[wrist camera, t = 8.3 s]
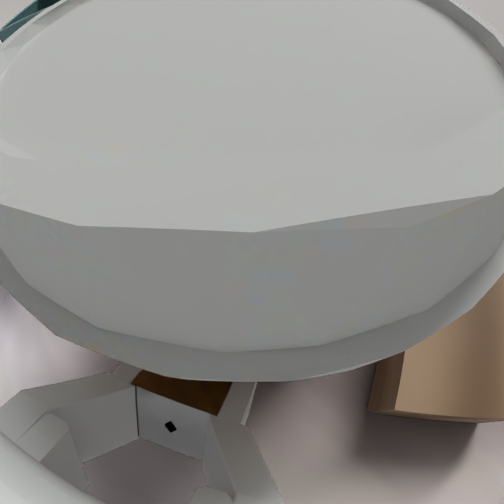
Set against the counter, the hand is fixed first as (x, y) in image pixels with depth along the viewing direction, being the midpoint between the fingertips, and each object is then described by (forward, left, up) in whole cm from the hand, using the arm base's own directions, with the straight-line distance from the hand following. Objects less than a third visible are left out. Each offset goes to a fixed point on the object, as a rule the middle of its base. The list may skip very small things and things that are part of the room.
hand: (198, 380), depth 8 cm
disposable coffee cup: (0, +4, -5) cm, 7 cm away
